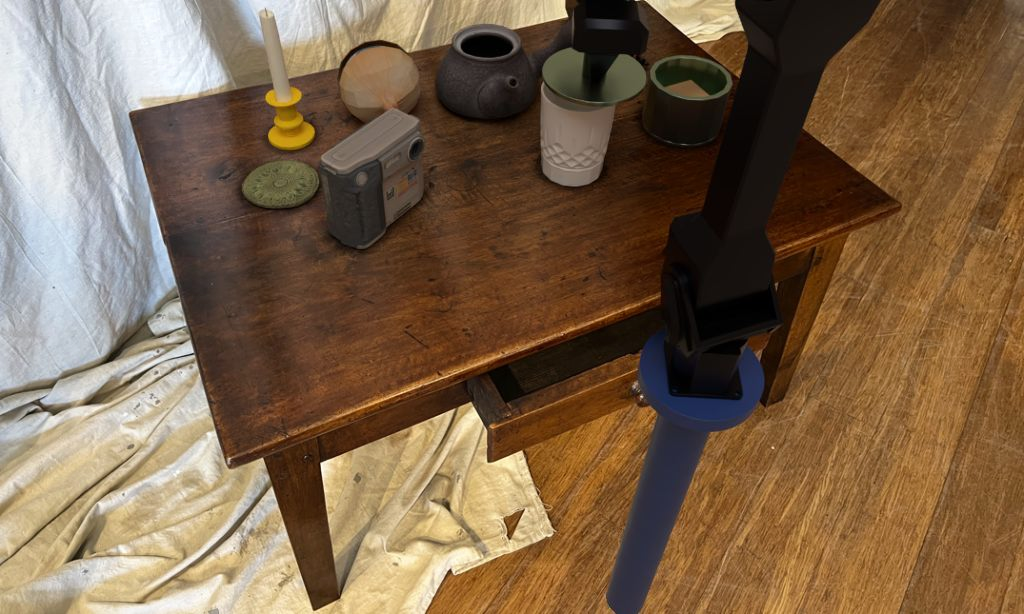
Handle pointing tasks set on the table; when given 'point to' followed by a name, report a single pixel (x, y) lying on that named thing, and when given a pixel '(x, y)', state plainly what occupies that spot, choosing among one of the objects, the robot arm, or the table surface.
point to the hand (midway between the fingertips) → (595, 71)
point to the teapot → (492, 71)
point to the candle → (283, 93)
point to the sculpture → (378, 80)
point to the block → (687, 89)
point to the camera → (373, 177)
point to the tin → (685, 101)
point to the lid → (573, 82)
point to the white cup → (573, 139)
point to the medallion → (281, 184)
